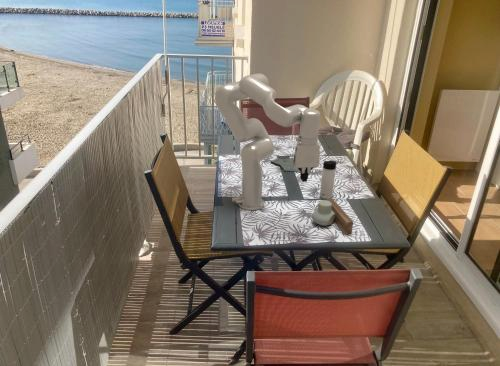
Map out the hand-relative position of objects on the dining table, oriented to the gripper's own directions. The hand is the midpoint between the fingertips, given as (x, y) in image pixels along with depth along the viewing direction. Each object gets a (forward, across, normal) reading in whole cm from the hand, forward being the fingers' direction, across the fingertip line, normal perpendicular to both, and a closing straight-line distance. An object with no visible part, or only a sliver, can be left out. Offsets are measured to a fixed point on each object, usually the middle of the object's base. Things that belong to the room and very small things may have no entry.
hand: (303, 180), depth 176 cm
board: (+22, +18, -1) cm, 29 cm away
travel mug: (+22, +22, +22) cm, 39 cm away
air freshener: (+22, +12, 0) cm, 25 cm away
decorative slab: (+24, +19, +64) cm, 71 cm away
